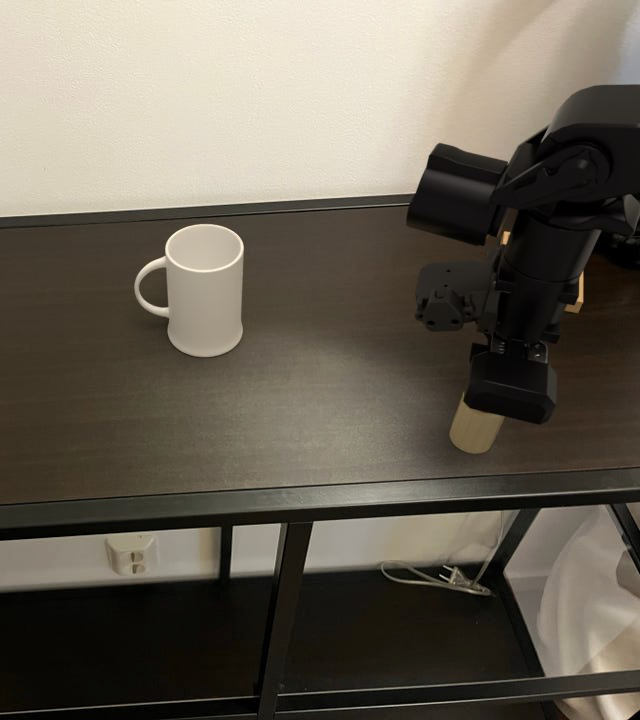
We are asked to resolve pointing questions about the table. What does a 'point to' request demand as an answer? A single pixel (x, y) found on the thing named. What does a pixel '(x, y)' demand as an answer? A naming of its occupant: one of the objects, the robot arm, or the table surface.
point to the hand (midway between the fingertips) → (488, 393)
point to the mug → (201, 289)
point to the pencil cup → (474, 429)
